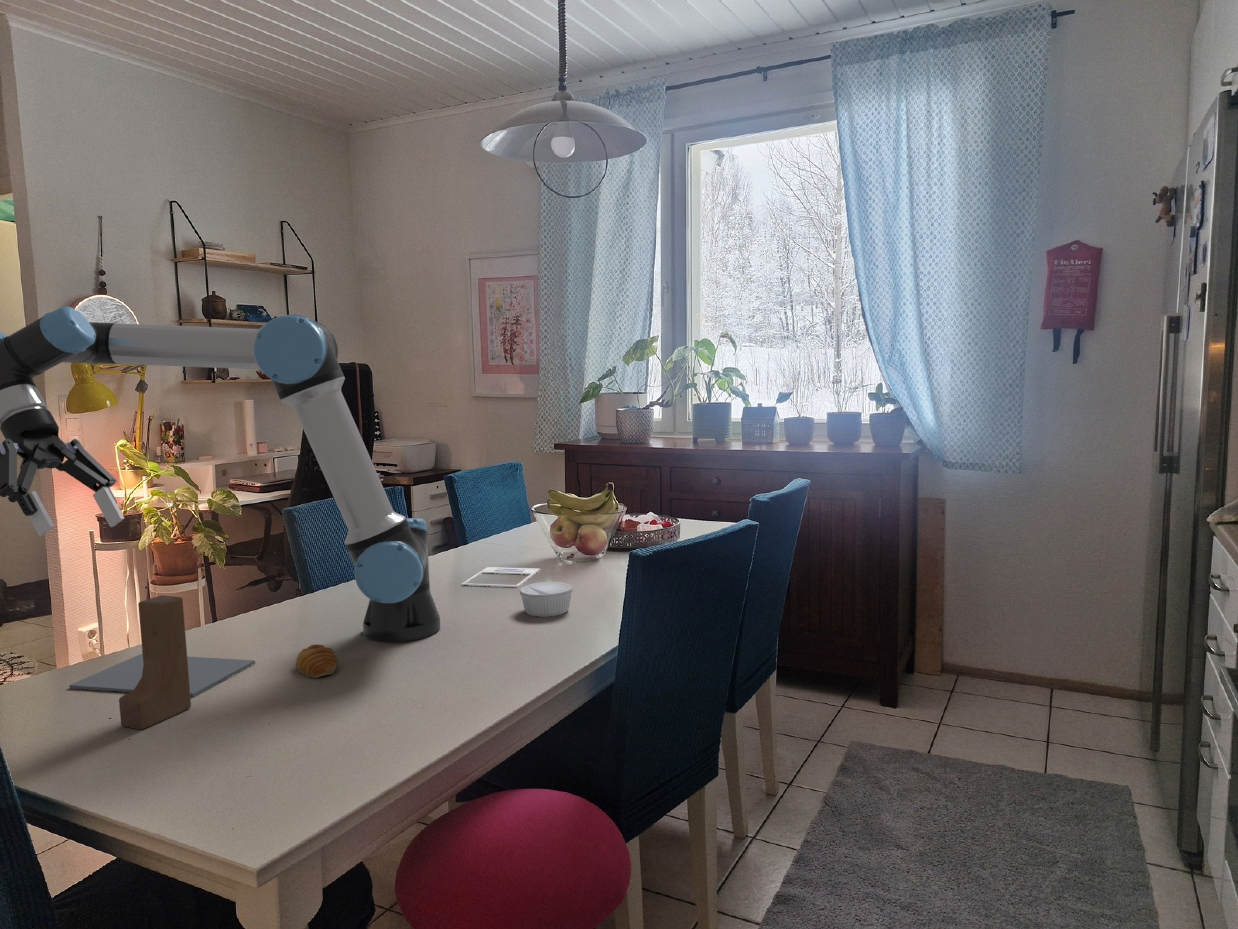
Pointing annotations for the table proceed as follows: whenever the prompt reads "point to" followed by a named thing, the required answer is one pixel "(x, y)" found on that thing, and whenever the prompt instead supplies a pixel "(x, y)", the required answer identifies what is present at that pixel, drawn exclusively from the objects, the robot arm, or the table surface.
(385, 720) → the table surface
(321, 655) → the pastry
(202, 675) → the mat
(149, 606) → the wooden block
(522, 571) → the photo frame
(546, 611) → the ramekin
